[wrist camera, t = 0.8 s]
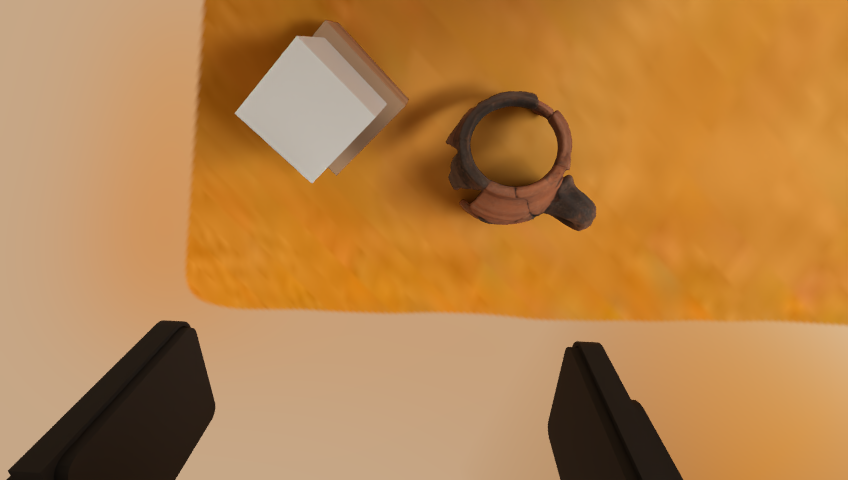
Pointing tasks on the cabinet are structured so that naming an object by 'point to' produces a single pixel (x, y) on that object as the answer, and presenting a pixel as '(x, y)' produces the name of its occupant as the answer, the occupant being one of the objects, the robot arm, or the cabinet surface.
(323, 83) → the greyblue cube
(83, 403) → the robot arm
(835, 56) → the cabinet surface
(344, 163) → the tan cardboard-coloured box
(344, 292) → the cabinet surface
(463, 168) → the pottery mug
